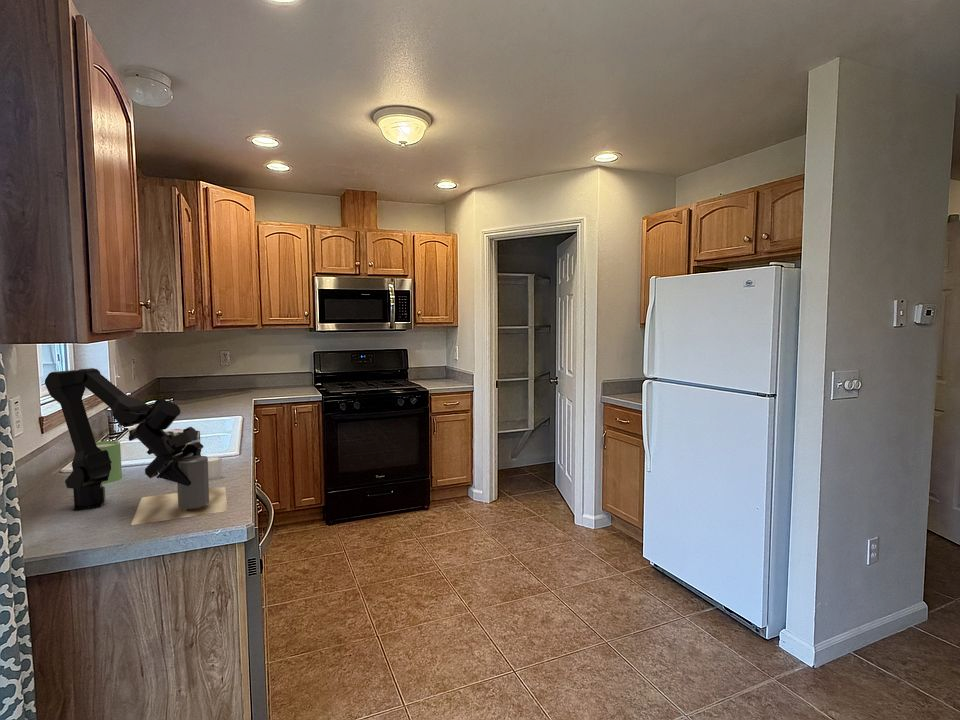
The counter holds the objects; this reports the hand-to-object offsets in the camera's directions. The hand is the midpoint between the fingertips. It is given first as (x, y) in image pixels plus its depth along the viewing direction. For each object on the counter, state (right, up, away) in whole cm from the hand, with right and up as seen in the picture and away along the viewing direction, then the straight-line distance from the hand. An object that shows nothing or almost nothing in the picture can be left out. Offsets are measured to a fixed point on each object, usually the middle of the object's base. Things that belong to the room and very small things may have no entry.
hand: (198, 480), depth 144 cm
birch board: (-7, -9, +5) cm, 12 cm away
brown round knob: (-1, -8, +1) cm, 8 cm away
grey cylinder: (-1, -7, +1) cm, 7 cm away
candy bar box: (-22, -7, +32) cm, 39 cm away
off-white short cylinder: (-12, -7, +31) cm, 34 cm away
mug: (-49, -7, +30) cm, 58 cm away
